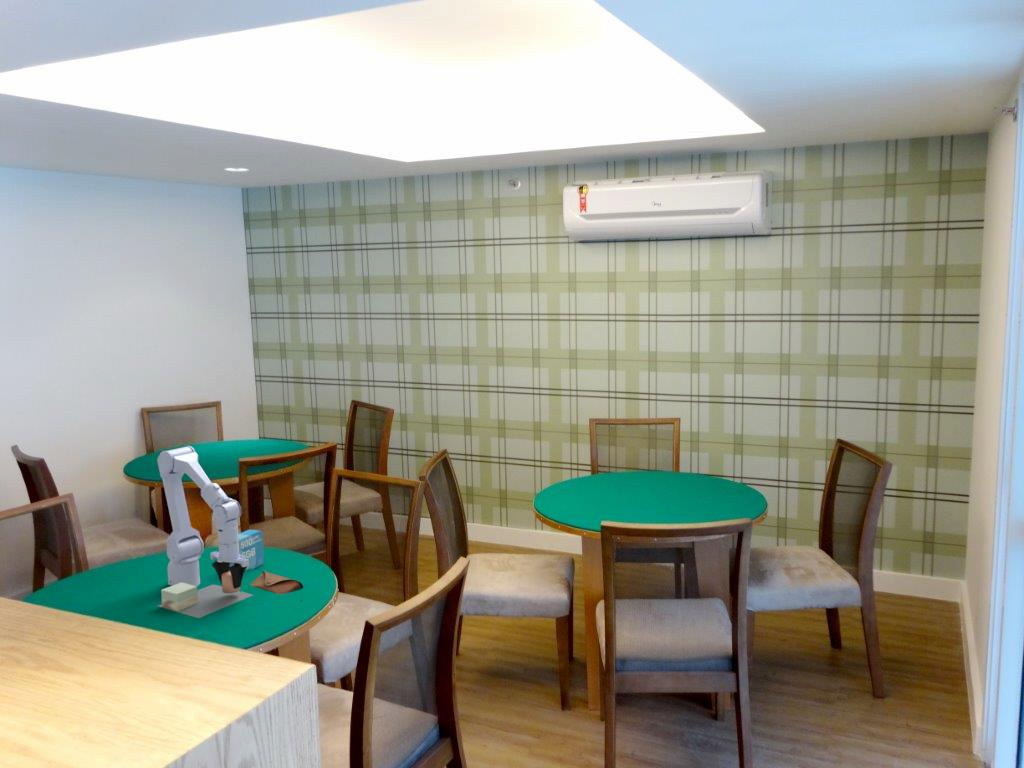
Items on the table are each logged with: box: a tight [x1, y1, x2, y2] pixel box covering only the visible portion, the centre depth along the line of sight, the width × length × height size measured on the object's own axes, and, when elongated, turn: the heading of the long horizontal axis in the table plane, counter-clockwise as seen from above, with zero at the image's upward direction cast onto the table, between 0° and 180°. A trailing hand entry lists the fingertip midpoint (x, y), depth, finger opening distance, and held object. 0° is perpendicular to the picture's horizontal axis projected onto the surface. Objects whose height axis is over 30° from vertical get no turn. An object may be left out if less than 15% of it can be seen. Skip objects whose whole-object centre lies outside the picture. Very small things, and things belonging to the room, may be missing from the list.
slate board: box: [158, 584, 254, 619], centre depth 252 cm, size 18×20×1 cm
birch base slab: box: [161, 595, 198, 612], centre depth 248 cm, size 7×7×2 cm
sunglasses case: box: [250, 570, 304, 595], centre depth 263 cm, size 18×7×7 cm, turn 57°
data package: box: [229, 529, 265, 572], centre depth 280 cm, size 12×4×12 cm, turn 159°
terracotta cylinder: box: [221, 571, 241, 593], centre depth 254 cm, size 5×5×5 cm
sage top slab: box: [160, 582, 198, 603], centre depth 248 cm, size 7×7×2 cm
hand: (230, 585), depth 254 cm, fingers closed on terracotta cylinder, 5 cm apart
